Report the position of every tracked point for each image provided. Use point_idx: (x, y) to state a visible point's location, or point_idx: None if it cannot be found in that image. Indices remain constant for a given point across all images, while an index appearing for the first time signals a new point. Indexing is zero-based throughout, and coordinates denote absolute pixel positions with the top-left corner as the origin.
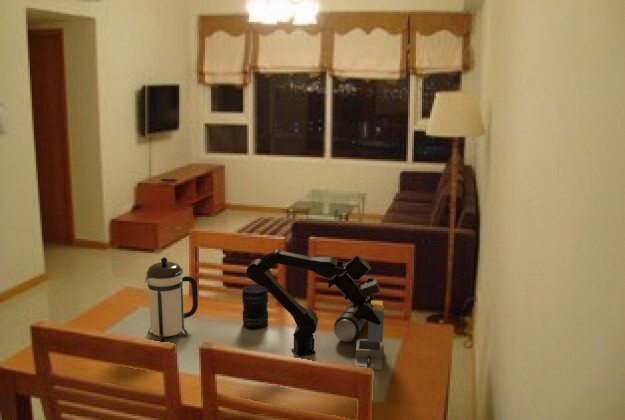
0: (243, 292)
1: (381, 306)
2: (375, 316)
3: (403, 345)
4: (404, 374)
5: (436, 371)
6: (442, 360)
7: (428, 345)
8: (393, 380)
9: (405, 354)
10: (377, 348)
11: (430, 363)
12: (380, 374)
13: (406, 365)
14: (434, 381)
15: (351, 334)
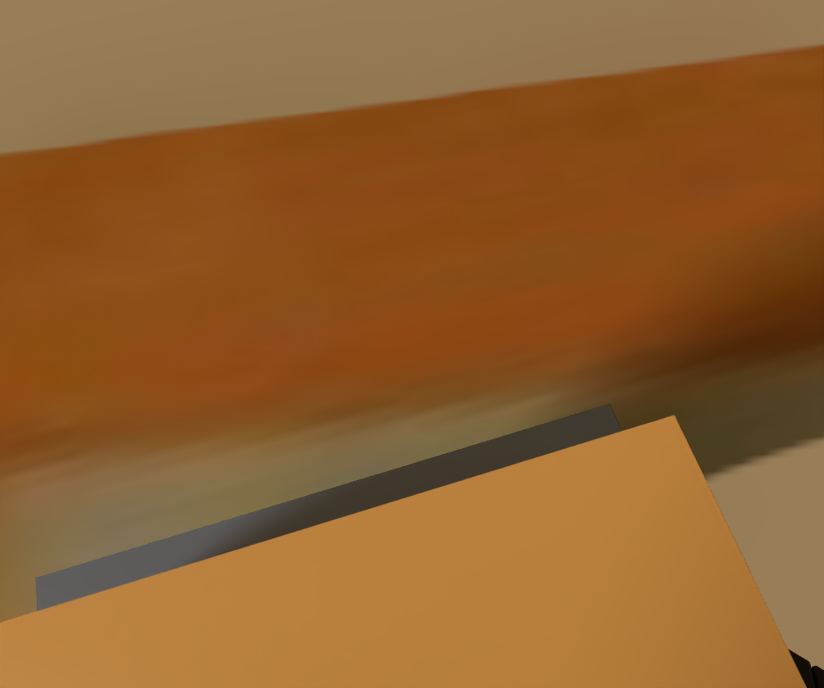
0: None
1: (684, 500)
2: (805, 672)
3: (117, 433)
4: (620, 292)
5: (468, 129)
6: (293, 129)
7: (70, 256)
8: (755, 336)
9: (288, 371)
10: None
11: (369, 182)
12: (727, 455)
13: (474, 315)
14: (606, 112)
15: None
